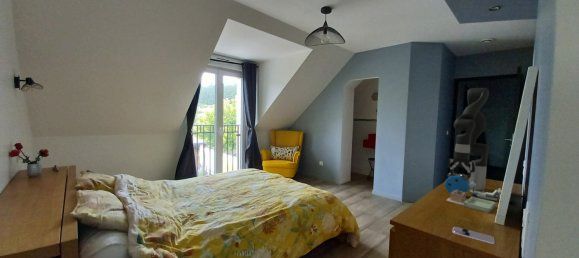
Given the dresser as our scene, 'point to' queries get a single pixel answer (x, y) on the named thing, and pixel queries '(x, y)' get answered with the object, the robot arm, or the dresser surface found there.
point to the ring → (458, 196)
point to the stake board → (455, 201)
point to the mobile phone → (473, 235)
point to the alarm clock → (457, 183)
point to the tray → (479, 204)
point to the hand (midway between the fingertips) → (459, 176)
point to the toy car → (491, 196)
